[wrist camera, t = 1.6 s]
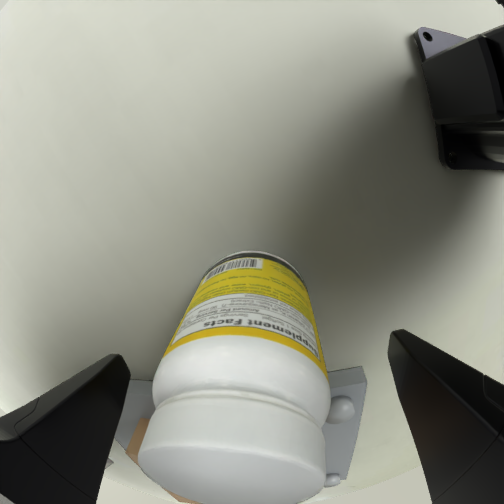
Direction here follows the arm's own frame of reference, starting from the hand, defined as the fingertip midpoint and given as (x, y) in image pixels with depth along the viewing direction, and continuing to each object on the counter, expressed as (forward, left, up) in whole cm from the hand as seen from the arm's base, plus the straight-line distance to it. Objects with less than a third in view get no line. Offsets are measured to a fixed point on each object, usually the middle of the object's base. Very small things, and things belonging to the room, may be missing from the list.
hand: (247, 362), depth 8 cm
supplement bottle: (0, 0, -4) cm, 4 cm away
